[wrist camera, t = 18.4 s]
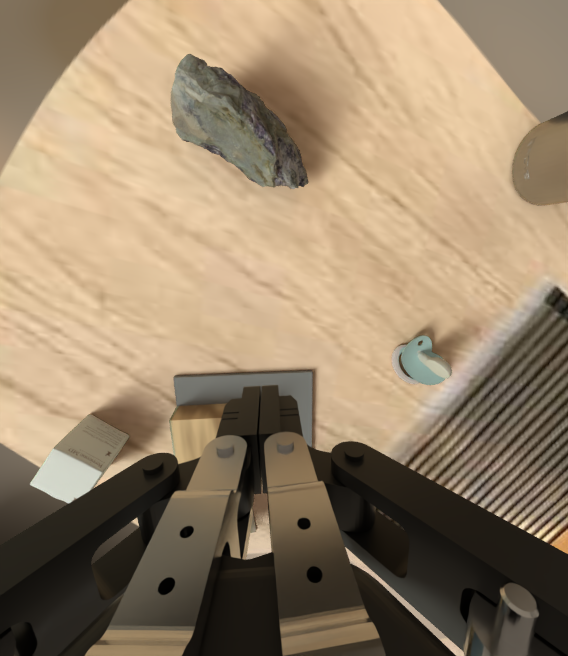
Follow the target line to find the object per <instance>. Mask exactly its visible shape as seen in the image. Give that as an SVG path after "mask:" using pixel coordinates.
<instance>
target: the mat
mask: <svg viewBox="0 0 568 656" xmlns="http://www.w3.org/2000/svg"><path fill="white" fill-rule="evenodd" d="M266 385H278V388H279V396H288V395H291V396H292V397H293V398H294V399H295V400H296V401H297V404H298V410H299V416H300V421H301V427H302V433H303V438H304V439H305V441H306V443H307V444H308V445H309V446H310V447H312V370H307V371H283V372H258V373H233V374H209V375H184V376H174V387H175V395H176V404H177V406H188V405H207V404H226V403H228V402H229V401H230V400H231V399H238V398H242V393H243V388H244V387H250V386H261V390H262V386H266Z"/></svg>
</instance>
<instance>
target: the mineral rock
mask: <svg viewBox="0 0 568 656" xmlns="http://www.w3.org/2000/svg"><path fill="white" fill-rule="evenodd" d="M171 109H172V120H173V124H174V126H175V127H176V132H177V134H178V135H179V137H180V138H181V139H182V140H184V141H186V142H192V143H194V144H196V145H198V146H201V147H203V148H204V149H207V150H209V151H210V152H212V153H214V154H218V155H220V156H221V157H222V158H224V159H225V160H226V161H227V162H230V163H232V164H234V165H235V166H236V167H238V168H239V169H240V170H241V171H242V172H243V173H244V174H245V175H246V176H247V178H248V179H250V180H252V181H253V182H256V183H257V184H259V185H260V186H262V187H265V186H269V187H275V186H281V185H282V186H288V187H289V188H290V189H295V188H298V186H301V187H304V186H305V185H306V184H308V179H307V174H306V170H305V168H304V167H303V164H302V160H301V154H300V150H299V149H298V147H297V146H296V144H295V143H294V142H293V140H292V139H291V138H290V137H289V135H288V133H287V130H286V127H285V125H284V124H283V123H282V122H281V121H280V119H279V118H278V117H277V116H276V115H275V114H274V113H273V112H272V111H270V110H269V109H267V108H266V107H265V105H264V102H263V101H262V100H261V99H260V97H259V96H257V95H256V94H254V93H252V92H249V91H247V90H246V89H245V88H244V87H243V86H242V85H240V84H239V83H238V82H237V80H236V79H235V78H234V77H233V76H232V75H231V74H228V73H227V72H225V71H224V70H223V69H222V68H218V67H210V66H207V63H206V62H205V61H204V60H201V59H199V58H197V57H195V56H193V55H191V54H187V55H186V56H185V57H184V58H183V59H182V60H181V62H180V63H179V65H178V67H177V70H176V73H175V80H174V84H173V87H172V91H171Z"/></svg>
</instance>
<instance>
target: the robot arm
mask: <svg viewBox="0 0 568 656" xmlns="http://www.w3.org/2000/svg"><path fill="white" fill-rule="evenodd" d="M512 175H513V182H514V185H515V188H516V190H517V191H518V193H519V195H520V196H521V197H522V198H523V199H524V200H526V201H527V202H529V203H531V204H535V205H551V204H558V203H564V202H568V111H567V112H565V113H563V114H561V115H559V116H557V117H554V118H552V119H550V120H548V121H546V122H543V123H541V124H539V125H538V126H536V127H535V128H534V129H532V130H531V131H530V132H529V133H528V134H527V135H526V136H525V137H524V139H523V140H522V142H521V143H520V145H519V147H518V149H517V151H516V154H515V157H514V161H513V168H512ZM261 485H263V493H267V496H268V511H269V524H270V536H271V548H272V552H271V553H268V554H265V555H262V556H259V557H256V558H253V559H248V560H246V557H247V550H248V543H249V537H250V530H251V524H252V517H253V510H252V506H253V502H254V494H261ZM376 508H378V509H379V510H380V511H382V512H383V513H385V514H386V515H388V516H389V517H390V518H392V519H393V520H395V521H396V522H397V523H399V524H400V525H401V526H402V527H403V528H404V530H405V531H404V530H403V529H402V528H400V527H399V526H397V525H396V524H395V523H393V522H392V521H390V520H389V519H388V518H386V517H385V516H383V515H382V514H380V513H379V512H378V511H376V510H375V509H376ZM135 518H138V523H139V528H138V529H137V530H136V531H134V532H133V533H131V534H130V535H129V536H128V537H126V538H125V539H124V540H123V541H121V542H120V543H119V544H118V545H116V546H115V547H114V548H112V549H111V550H110V551H109V552H108V553H106V554H105V555H104V556H103V557H101V558H100V559H99V560H97V561H96V562H95V563H93V564H92V565H91V560H92V557H93V555H94V553H95V551H96V550H97V548H98V547H99V546H100V545H101V544H102V543H104V542H105V541H106V540H107V539H109V538H110V537H111V536H113V535H114V534H115V533H117V532H118V531H119V530H120V529H122V528H123V527H125V526H126V525H127V524H129V523H130V522H131V521H133V520H134V519H135ZM345 547H346V548H347V549H349V550H350V551H351V552H352V553H353V554H354V555H355V556H356V557H358V558H359V559H360V560H361V561H362V562H363V563H364V564H365V565H367V566H368V567H369V568H370V569H371V570H372V571H373V572H374V573H376V574H377V575H378V576H379V577H380V578H381V579H382V580H384V581H385V582H386V583H387V584H388V585H389V586H390V587H392V588H393V589H394V590H395V591H396V592H397V593H398V594H399V595H400V596H402V597H403V598H404V599H405V600H406V601H407V602H408V603H409V604H411V605H412V606H413V607H414V608H415V609H416V610H417V611H418V612H420V613H421V614H422V615H423V616H424V617H425V618H426V619H428V620H429V621H430V622H431V623H432V624H433V625H434V626H435V627H436V628H438V629H439V630H440V631H441V632H442V633H443V634H444V635H445V636H447V637H448V638H449V639H450V640H451V641H452V642H453V643H454V644H456V645H457V646H458V647H459V648H460V649H461V650H462V651H463V652H464V655H465V656H568V554H566V553H565V552H563V551H561V550H559V549H557V548H555V547H554V546H552V545H550V544H548V543H546V542H544V541H542V540H541V539H539V538H537V537H535V536H533V535H531V534H530V533H528V532H526V531H524V530H522V529H520V528H518V527H517V526H515V525H513V524H511V523H509V522H507V521H506V520H504V519H502V518H500V517H498V516H496V515H495V514H493V513H491V512H489V511H487V510H485V509H483V508H482V507H480V506H478V505H476V504H474V503H472V502H471V501H469V500H467V499H465V498H463V497H461V496H459V495H458V494H456V493H454V492H452V491H450V490H448V489H447V488H445V487H443V486H441V485H439V484H437V483H436V482H434V481H432V480H430V479H428V478H426V477H424V476H423V475H421V474H419V473H417V472H415V471H413V470H412V469H410V468H408V467H406V466H404V465H402V464H400V463H399V462H397V461H395V460H393V459H391V458H389V457H388V456H386V455H384V454H382V453H380V452H378V451H377V450H375V449H373V448H371V447H369V446H367V445H365V444H363V443H359V442H353V441H348V442H342V443H340V444H338V445H336V446H335V447H334V448H333V449H332V451H331V453H329V452H323V451H319V450H316V449H314V448H312V447H310V446H309V445H308V444H307V443H306V441H305V439H304V438H303V433H302V427H301V421H300V416H299V410H298V404H297V401H296V400H295V399H294V398H293V397H292V396H291V395H288V396H279V388H278V385H266V386H262V390H261V386H250V387H244V388H243V393H242V398H238V399H231V400H230V401H229V402H228V403H227V404H226V405H225V407H224V410H223V414H222V417H221V421H220V424H219V428H218V431H217V435H216V438H215V439H214V440H212V441H210V442H209V443H208V444H207V445H206V447H205V448H204V451H203V453H202V455H201V457H199V458H197V459H194V460H191V461H187V462H184V463H180V464H178V460H177V458H176V457H175V456H174V455H172V454H170V453H157V454H153V455H150V456H147V457H145V458H143V459H141V460H140V461H138V462H136V463H135V464H133V465H131V466H130V467H128V468H126V469H125V470H123V471H121V472H120V473H118V474H117V475H115V476H113V477H112V478H110V479H108V480H107V481H105V482H103V483H102V484H100V485H98V486H97V487H95V488H94V489H92V490H90V491H89V492H87V493H85V494H84V495H82V496H80V497H79V498H77V499H75V500H74V501H72V502H71V503H69V504H67V505H66V506H64V507H62V508H61V509H59V510H57V511H56V512H55V513H52V514H51V515H49V516H48V517H46V518H44V519H43V520H41V521H39V522H38V523H36V524H34V525H33V526H31V527H29V528H28V529H26V530H25V531H23V532H21V533H20V534H18V535H16V536H15V537H13V538H11V539H10V540H8V541H7V542H5V543H3V544H2V545H0V656H456V655H455V654H454V653H453V652H452V651H450V650H449V649H448V648H447V647H446V646H445V645H444V644H443V643H442V642H441V641H440V640H439V639H438V638H437V637H436V636H435V635H433V633H432V632H431V631H429V629H428V628H426V627H425V626H424V625H423V624H422V623H421V622H420V621H419V620H418V619H417V618H416V617H415V616H414V615H413V614H412V613H411V612H410V611H409V610H408V609H407V608H406V607H405V606H403V605H402V604H401V603H400V602H399V601H398V600H397V599H396V598H395V597H394V596H393V595H392V594H391V593H390V592H389V591H388V590H387V589H386V588H385V587H384V586H383V585H382V584H380V583H379V582H378V581H377V580H376V579H375V578H373V577H372V576H371V575H369V574H368V573H367V572H365V571H363V570H362V569H360V568H358V567H357V566H354V565H352V564H350V561H349V558H348V555H347V552H346V549H345Z"/></svg>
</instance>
